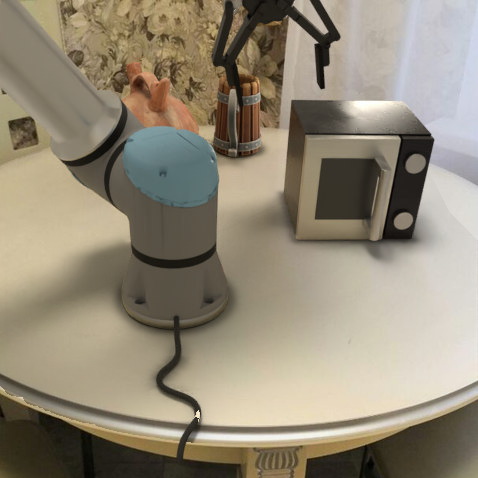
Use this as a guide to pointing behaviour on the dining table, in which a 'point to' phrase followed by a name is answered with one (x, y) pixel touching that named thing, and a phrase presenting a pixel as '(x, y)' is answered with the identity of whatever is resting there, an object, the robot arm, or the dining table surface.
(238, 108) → the mug
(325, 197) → the microwave door
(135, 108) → the jug
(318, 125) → the microwave
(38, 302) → the dining table surface
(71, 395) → the dining table surface
